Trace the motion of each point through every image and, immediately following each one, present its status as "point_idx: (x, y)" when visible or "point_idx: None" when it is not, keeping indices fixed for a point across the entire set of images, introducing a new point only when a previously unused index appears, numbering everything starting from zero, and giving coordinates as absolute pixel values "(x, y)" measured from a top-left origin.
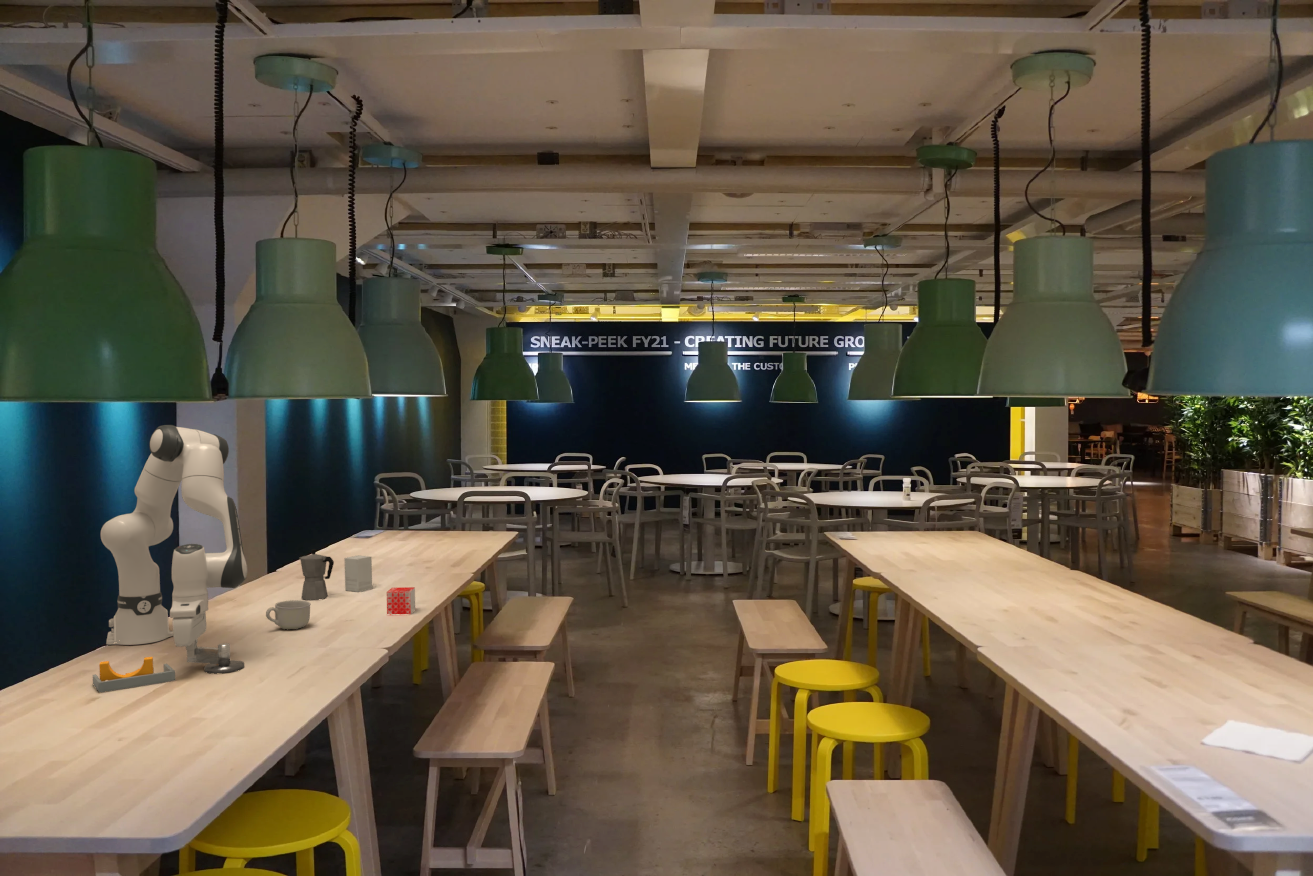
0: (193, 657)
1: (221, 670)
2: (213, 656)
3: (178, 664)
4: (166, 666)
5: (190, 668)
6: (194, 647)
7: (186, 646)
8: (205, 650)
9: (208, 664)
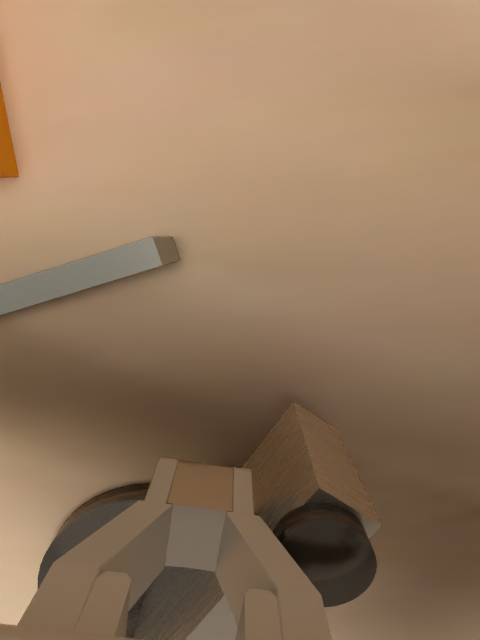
0: (260, 473)
1: (38, 585)
2: (152, 619)
3: (418, 319)
4: (45, 272)
5: (254, 403)
6: (223, 579)
7: (75, 559)
8: (182, 627)
9: None
